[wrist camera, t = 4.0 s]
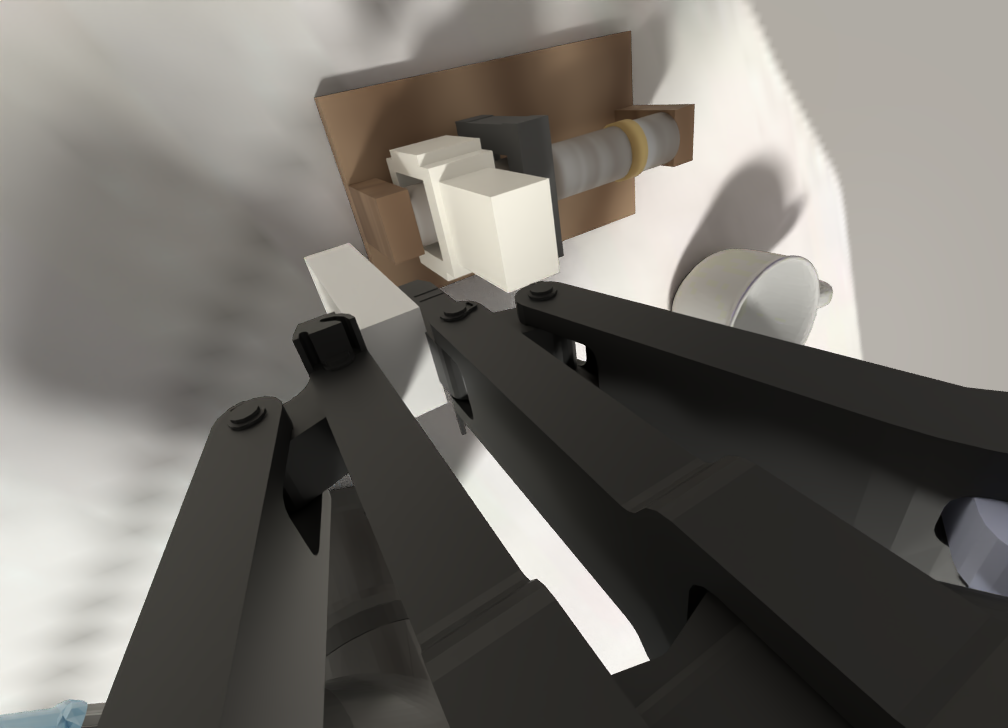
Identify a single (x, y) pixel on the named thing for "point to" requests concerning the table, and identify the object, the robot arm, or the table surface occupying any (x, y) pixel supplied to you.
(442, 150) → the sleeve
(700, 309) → the teacup
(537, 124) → the charcoal slab
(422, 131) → the pipe rig
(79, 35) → the table surface
